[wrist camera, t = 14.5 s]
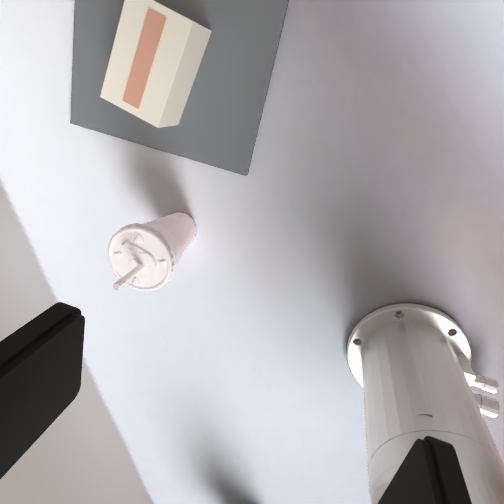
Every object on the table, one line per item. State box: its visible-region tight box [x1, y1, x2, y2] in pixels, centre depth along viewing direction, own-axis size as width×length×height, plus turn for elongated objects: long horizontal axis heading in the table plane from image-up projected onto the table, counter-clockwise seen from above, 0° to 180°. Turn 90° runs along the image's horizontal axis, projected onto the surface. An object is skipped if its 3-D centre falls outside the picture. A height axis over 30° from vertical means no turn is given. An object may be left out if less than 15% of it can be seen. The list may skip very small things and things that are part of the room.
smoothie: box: [108, 212, 197, 291], centre depth 36 cm, size 6×6×14 cm
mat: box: [70, 0, 289, 176], centre depth 36 cm, size 20×16×1 cm
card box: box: [100, 0, 212, 128], centre depth 34 cm, size 9×6×5 cm, turn 154°
